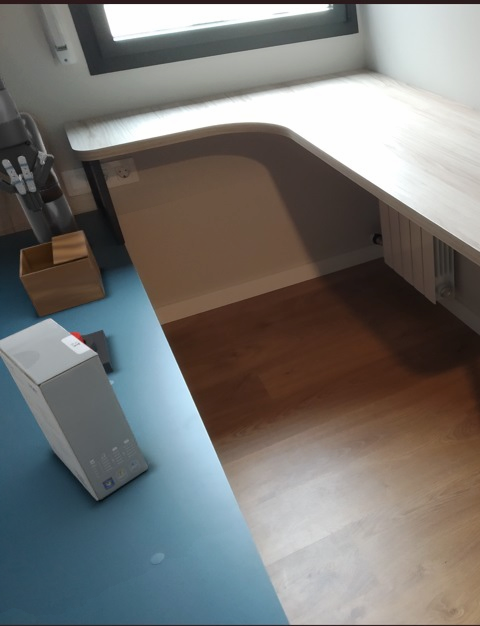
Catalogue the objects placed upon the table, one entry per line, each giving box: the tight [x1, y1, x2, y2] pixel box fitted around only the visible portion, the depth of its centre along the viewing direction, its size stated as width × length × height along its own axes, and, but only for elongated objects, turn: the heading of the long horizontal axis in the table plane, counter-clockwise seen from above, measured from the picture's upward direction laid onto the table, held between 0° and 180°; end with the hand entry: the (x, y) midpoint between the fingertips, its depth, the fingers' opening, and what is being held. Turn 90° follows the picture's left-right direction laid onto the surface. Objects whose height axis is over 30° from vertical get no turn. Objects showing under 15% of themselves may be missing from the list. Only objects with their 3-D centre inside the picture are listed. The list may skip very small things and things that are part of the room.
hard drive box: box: [0, 318, 149, 501], centre depth 83 cm, size 16×8×20 cm, turn 48°
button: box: [69, 331, 85, 344], centre depth 107 cm, size 4×4×2 cm
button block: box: [80, 329, 114, 375], centre depth 109 cm, size 12×10×4 cm
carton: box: [19, 232, 107, 318], centre depth 131 cm, size 15×13×9 cm
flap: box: [52, 230, 88, 265], centre depth 129 cm, size 15×6×1 cm, turn 28°
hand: (37, 210), depth 118 cm, fingers closed
